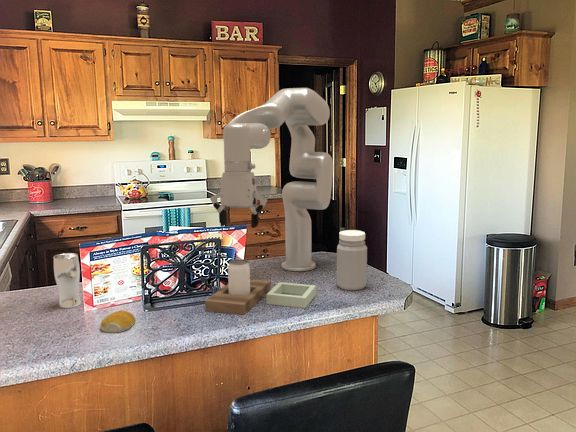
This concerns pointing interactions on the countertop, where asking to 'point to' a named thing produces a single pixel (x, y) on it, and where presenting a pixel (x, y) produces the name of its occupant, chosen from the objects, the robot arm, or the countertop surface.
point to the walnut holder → (237, 299)
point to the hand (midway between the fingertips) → (238, 226)
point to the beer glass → (67, 279)
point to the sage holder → (291, 300)
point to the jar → (351, 260)
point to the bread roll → (117, 322)
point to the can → (239, 277)
